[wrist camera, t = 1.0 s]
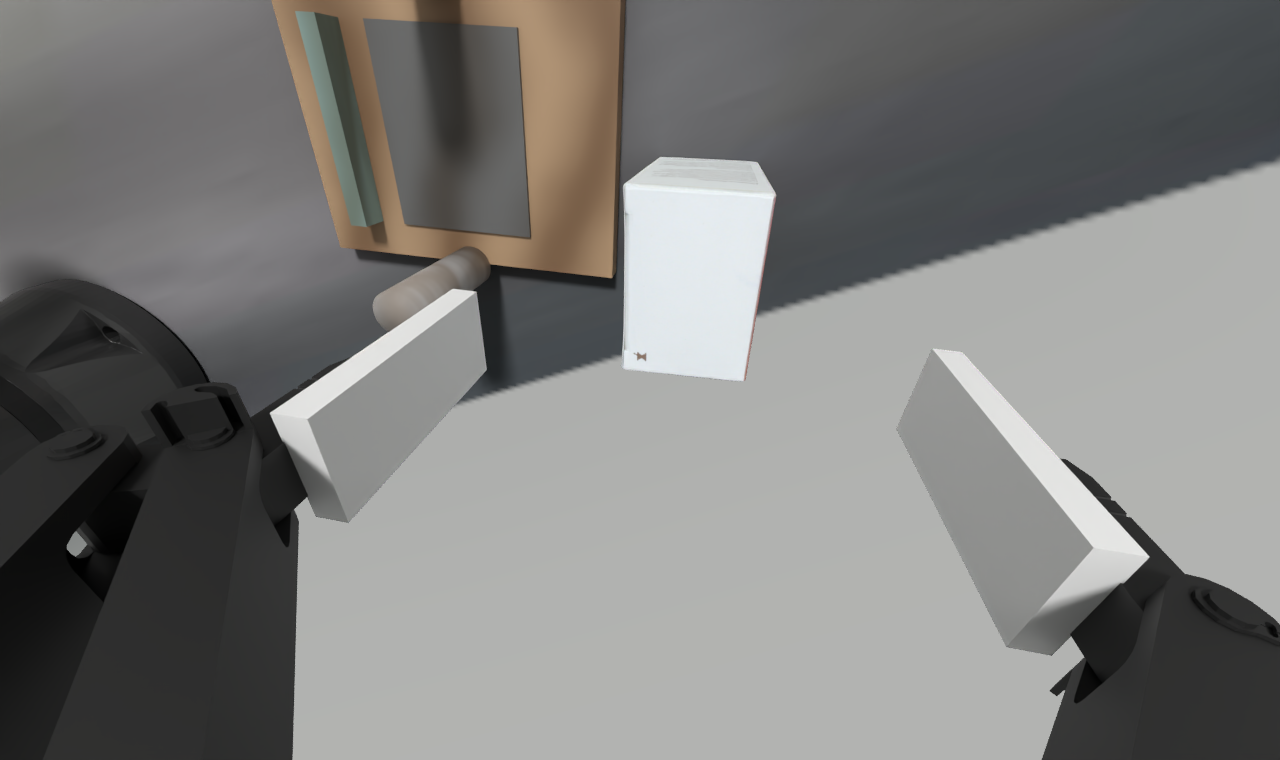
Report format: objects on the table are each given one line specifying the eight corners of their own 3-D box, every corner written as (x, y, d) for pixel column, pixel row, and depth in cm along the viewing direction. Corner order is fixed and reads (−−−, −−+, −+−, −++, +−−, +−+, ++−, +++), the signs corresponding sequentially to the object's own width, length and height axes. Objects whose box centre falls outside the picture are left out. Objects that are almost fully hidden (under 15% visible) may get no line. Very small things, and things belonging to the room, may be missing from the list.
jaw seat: (358, 262, 32) (239, 315, 24) (270, -70, 23) (37, -157, 15) (615, 293, 30) (576, 360, 22) (627, -56, 21) (570, -147, 13)
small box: (739, 299, 29) (746, 388, 20) (651, 292, 30) (619, 374, 21) (761, 158, 25) (781, 191, 16) (657, 153, 25) (621, 182, 16)
